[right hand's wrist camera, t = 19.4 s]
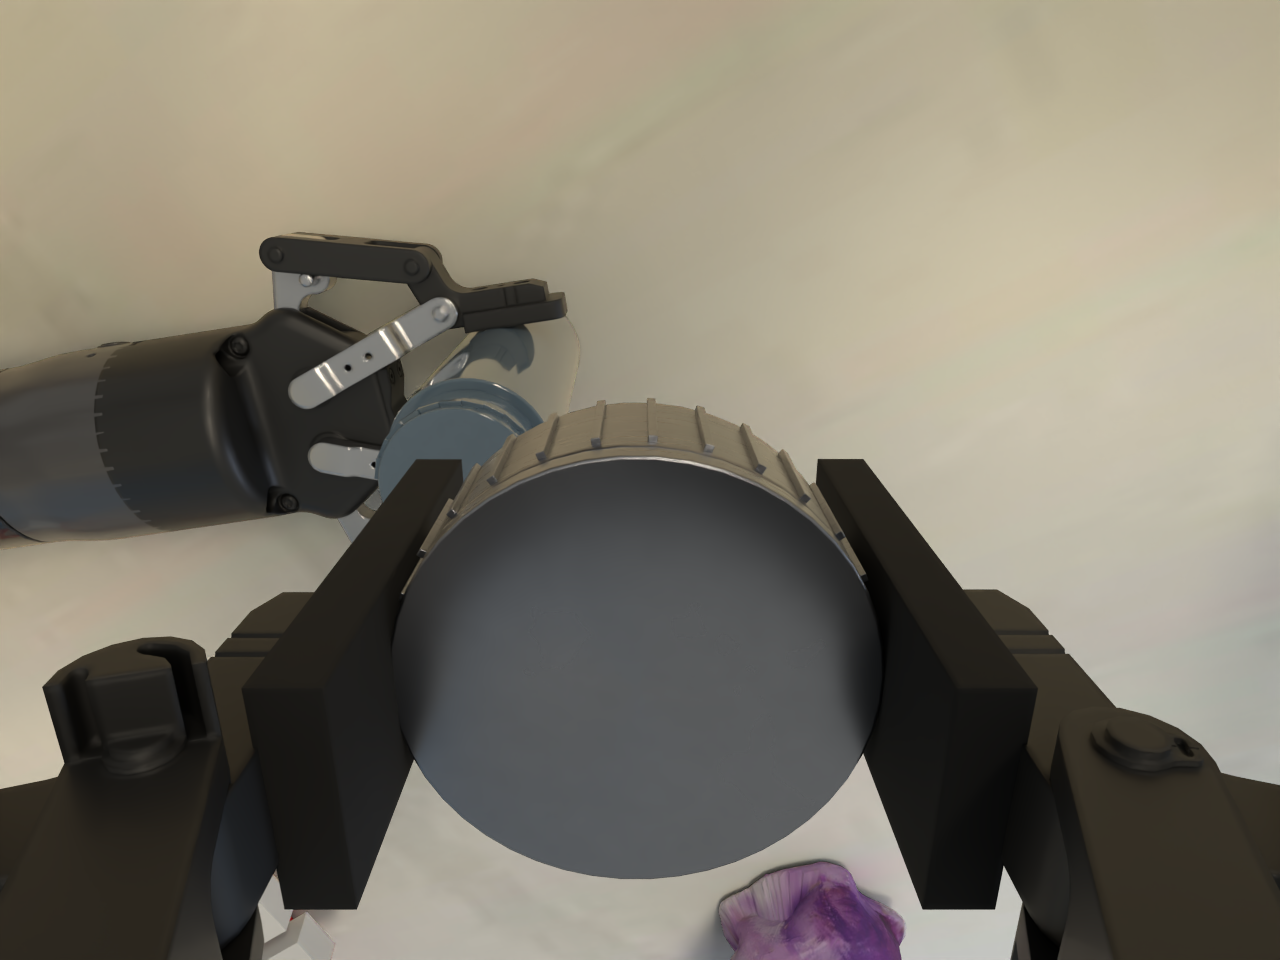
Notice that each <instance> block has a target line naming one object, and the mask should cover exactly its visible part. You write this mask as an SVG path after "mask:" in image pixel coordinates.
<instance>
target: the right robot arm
mask: <svg viewBox="0 0 1280 960" xmlns="http://www.w3.org/2000/svg"><path fill="white" fill-rule="evenodd" d="M462 485H463V470H462V459H416V460H415V461H414V463H413V464H412V465H411V467H410V468H409V469H408V471H407V472H406V473H405V474H404V476H403V477H402V478H401V480H400V481H399V482H398V484H397V485H396V486H395V488H394V489H393V490H392V492H391V493H390V494H389V495H388V497H387V498H386V499H385V501H384V502H383V503H382V505H381V506H380V507H379V509H378V510H377V511H376V512H375V514H374V515H373V516H372V518H371V519H370V520H369V522H368V523H367V524H366V526H365V527H364V528H363V529H362V531H361V532H360V533H359V535H358V536H357V537H356V539H355V540H354V541H353V543H352V544H351V545H350V547H349V548H348V549H347V550H346V552H345V553H344V554H343V556H342V557H341V558H340V560H339V561H338V562H337V564H336V565H335V566H334V567H333V569H332V570H331V571H330V573H329V574H328V575H327V577H326V578H325V579H324V581H323V582H322V583H321V585H320V586H319V587H318V588H317V590H316V591H315V592H283V593H281V594H279V595H278V596H276V597H274V598H273V599H271V600H269V601H268V602H266V603H264V604H263V605H261V606H259V607H258V608H256V609H254V610H252V611H251V612H250V613H249V614H248V615H247V616H246V618H245V619H244V620H243V621H242V622H241V623H240V625H239V626H238V627H237V628H236V629H235V630H234V631H233V633H232V636H231V638H227V639H226V641H225V642H224V643H223V644H222V645H221V646H220V647H219V649H218V650H217V651H216V652H215V657H211V658H210V659H209V660H208V661H207V658H206V654H205V649H203V648H202V647H200V646H199V645H198V644H196V643H195V642H194V641H192V640H187V639H181V638H176V637H153V638H141V639H136V640H132V641H127V642H123V643H118V644H114V645H110V646H108V647H105V648H103V649H100V650H97V651H95V652H92V653H90V654H87V655H84V656H82V657H80V658H79V659H77V660H75V661H74V662H72V663H70V664H69V665H67V666H65V667H64V668H62V669H60V670H59V671H57V672H56V673H55V674H54V675H53V677H52V678H51V679H50V680H49V681H48V682H47V683H46V684H45V685H44V686H43V687H42V688H43V691H44V695H45V698H46V701H47V705H48V708H49V712H50V715H51V718H52V722H53V725H54V729H55V732H56V736H57V739H58V742H59V746H60V749H61V753H62V756H63V759H64V763H65V764H64V766H63V768H62V770H61V772H60V774H59V776H58V777H55V778H51V779H48V780H43V781H38V782H33V783H28V784H23V785H18V786H14V787H9V788H4V789H0V960H262V955H263V947H264V935H263V928H262V921H261V917H260V912H259V907H258V903H259V901H260V899H261V897H262V895H263V893H264V891H265V889H266V887H267V885H268V884H269V882H270V880H271V878H272V876H273V874H274V872H275V870H276V869H277V874H278V879H279V884H280V889H281V894H282V900H283V905H284V910H323V909H357V907H358V905H359V902H360V900H361V897H362V894H363V892H364V889H365V886H366V884H367V881H368V879H369V876H370V873H371V871H372V868H373V865H374V863H375V860H376V858H377V855H378V852H379V850H380V847H381V844H382V842H383V839H384V837H385V834H386V831H387V829H388V826H389V823H390V821H391V818H392V816H393V813H394V810H395V808H396V805H397V802H398V800H399V797H400V794H401V792H402V789H403V787H404V784H405V781H406V779H407V776H408V773H409V771H410V768H411V766H412V763H413V760H414V758H413V756H412V755H411V753H410V751H409V748H408V746H407V744H406V742H405V739H404V737H403V735H402V732H401V729H400V723H399V715H398V707H397V699H396V690H395V682H394V673H393V665H392V655H391V638H392V633H393V628H394V623H395V618H396V615H397V612H398V609H399V607H400V604H401V601H400V600H399V597H400V593H401V591H402V590H403V588H404V586H405V584H406V582H407V581H408V579H409V577H410V575H411V574H412V572H413V570H414V568H415V566H416V565H417V563H418V561H419V559H420V557H418V556H417V553H418V551H419V550H420V548H421V546H422V544H423V543H424V541H425V539H426V537H427V536H428V534H429V532H430V530H431V529H432V527H433V525H434V524H435V522H436V520H437V518H438V517H439V515H440V513H441V511H442V510H443V508H444V506H445V504H446V503H447V501H448V499H449V498H450V499H452V500H454V499H455V497H456V495H457V494H458V492H459V490H460V488H461V486H462ZM816 485H817V487H818V488H819V490H820V492H821V493H822V495H823V497H824V499H825V501H826V502H827V504H828V506H829V508H830V510H831V511H832V513H833V515H834V517H835V519H836V520H837V522H838V524H839V526H840V527H841V529H842V531H843V533H844V535H845V537H846V539H847V540H848V542H849V544H850V546H851V548H852V549H853V551H854V553H855V555H856V556H857V558H858V560H859V562H860V564H861V565H862V567H863V569H864V571H865V573H866V575H867V577H868V581H866V582H864V584H865V586H866V588H867V590H868V592H869V595H870V597H871V600H872V603H873V606H874V609H875V612H876V614H877V617H878V619H879V620H878V621H879V626H880V632H881V637H882V642H883V650H884V681H883V689H882V697H881V704H880V707H879V711H878V715H877V718H876V722H875V725H874V729H873V732H872V734H871V736H870V738H869V741H868V743H867V745H866V747H865V750H864V752H863V754H864V756H865V759H866V762H867V764H868V767H869V770H870V772H871V775H872V777H873V780H874V783H875V785H876V788H877V791H878V793H879V796H880V798H881V801H882V804H883V806H884V809H885V812H886V814H887V817H888V820H889V822H890V825H891V827H892V830H893V833H894V835H895V838H896V841H897V843H898V846H899V848H900V851H901V854H902V856H903V859H904V862H905V864H906V867H907V869H908V872H909V875H910V877H911V880H912V883H913V885H914V888H915V890H916V893H917V896H918V898H919V901H920V904H921V906H922V909H995V907H996V902H997V897H998V892H999V886H1000V881H1001V876H1002V871H1003V866H1004V867H1005V869H1006V871H1007V873H1008V874H1009V876H1010V878H1011V880H1012V882H1013V884H1014V886H1015V888H1016V890H1017V892H1018V894H1019V896H1020V898H1021V899H1022V901H1023V902H1022V907H1021V912H1020V917H1019V921H1018V926H1017V931H1016V936H1015V941H1014V945H1013V950H1012V955H1011V960H1280V785H1276V784H1271V783H1266V782H1261V781H1256V780H1251V779H1246V778H1241V777H1236V776H1232V775H1228V774H1224V773H1221V772H1220V770H1219V768H1218V766H1217V764H1216V762H1215V761H1214V760H1213V758H1212V757H1211V756H1210V755H1209V753H1208V752H1207V751H1206V750H1205V749H1204V747H1203V746H1202V745H1201V744H1200V743H1198V742H1197V741H1196V740H1194V739H1193V738H1191V737H1190V736H1188V735H1187V734H1186V733H1184V732H1183V731H1181V730H1180V729H1178V728H1177V727H1174V726H1172V725H1170V724H1168V723H1165V722H1163V721H1161V720H1159V719H1156V718H1154V717H1152V716H1149V715H1146V714H1142V713H1138V712H1134V711H1130V710H1126V709H1122V708H1116V707H1115V706H1114V705H1113V703H1112V702H1111V701H1110V700H1109V699H1108V698H1107V697H1106V695H1105V694H1104V693H1103V692H1102V691H1101V690H1100V689H1099V687H1098V686H1097V685H1096V684H1095V683H1094V682H1093V681H1092V680H1091V678H1090V677H1089V676H1088V675H1087V674H1086V673H1085V672H1084V670H1083V669H1082V668H1081V667H1080V666H1079V665H1078V664H1077V662H1076V661H1075V660H1074V659H1073V658H1072V657H1071V656H1070V655H1069V654H1065V649H1064V648H1063V647H1062V645H1061V644H1060V643H1059V642H1058V641H1057V640H1056V639H1055V638H1054V636H1053V635H1049V633H1048V630H1047V628H1046V627H1045V626H1044V625H1043V624H1042V623H1041V622H1040V620H1039V619H1038V618H1037V617H1036V616H1035V615H1034V614H1033V613H1032V611H1031V610H1030V609H1029V608H1027V607H1026V606H1024V605H1022V604H1020V603H1019V602H1017V601H1015V600H1014V599H1012V598H1010V597H1009V596H1007V595H1005V594H1004V593H1002V592H1000V591H998V590H963V589H962V588H961V587H960V585H959V584H958V583H957V581H956V580H955V579H954V577H953V576H952V575H951V573H950V572H949V571H948V570H947V568H946V567H945V566H944V564H943V563H942V562H941V560H940V559H939V558H938V556H937V555H936V554H935V552H934V551H933V550H932V549H931V547H930V546H929V545H928V543H927V542H926V541H925V539H924V538H923V537H922V535H921V534H920V533H919V532H918V530H917V529H916V528H915V526H914V525H913V524H912V522H911V521H910V520H909V518H908V517H907V516H906V515H905V513H904V512H903V511H902V509H901V508H900V507H899V505H898V504H897V503H896V501H895V500H894V499H893V497H892V496H891V495H890V494H889V492H888V491H887V490H886V488H885V487H884V486H883V484H882V483H881V482H880V480H879V479H878V478H877V477H876V475H875V474H874V473H873V471H872V470H871V469H870V467H869V466H868V465H867V463H866V462H865V461H864V459H818V463H817V476H816Z"/></svg>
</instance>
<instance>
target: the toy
mask: <svg viewBox="0 0 1280 960" xmlns="http://www.w3.org/2000/svg"><path fill="white" fill-rule="evenodd" d="M258 907H259V912H260V917H261V921H262V928H263V935H264V947H263V955H262V960H331V958H332V954H333V950H334V946H335V942H334V941H333V940H332V939H331V938H330V937H329V936H328V934H327V933H326V932H325V931H324V930H323V929H322V928H321V927H320V926H319V924H318V923H317V922H316V921H315V920H314V919H313V918H312V917H311V916H310V915H309V913H308V912H305V913H303V914H302V915H300V916H298V917H296V918H295V919H293V918H292V917H291V915H292V912H293V910H284V905H283V900H282V894H281V889H280V884H279V880H278V879H277V878H276V877H275V876H274V875H273V876H272V878H271V880H270V882H269V884H268V885H267V887H266V889H265V891H264V893H263V895H262V897H261V899H260V901H259V903H258Z"/></svg>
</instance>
